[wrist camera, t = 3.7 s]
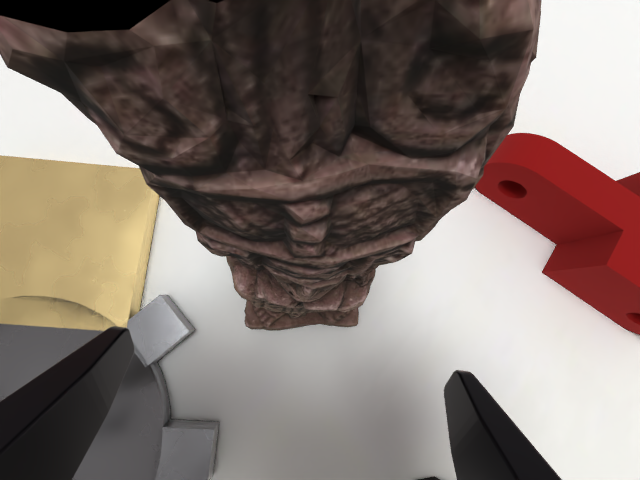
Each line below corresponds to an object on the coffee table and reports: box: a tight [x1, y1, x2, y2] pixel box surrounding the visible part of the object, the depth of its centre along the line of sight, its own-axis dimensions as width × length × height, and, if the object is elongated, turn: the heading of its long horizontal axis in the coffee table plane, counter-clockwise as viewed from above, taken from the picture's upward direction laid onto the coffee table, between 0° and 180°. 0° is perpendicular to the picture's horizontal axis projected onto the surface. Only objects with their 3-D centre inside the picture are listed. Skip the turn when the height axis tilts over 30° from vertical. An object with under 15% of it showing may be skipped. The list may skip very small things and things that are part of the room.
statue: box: [0, 0, 541, 330], centre depth 11 cm, size 7×7×20 cm
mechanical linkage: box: [475, 133, 640, 335], centre depth 21 cm, size 16×7×5 cm, turn 55°
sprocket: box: [0, 156, 219, 480], centre depth 18 cm, size 27×21×2 cm
